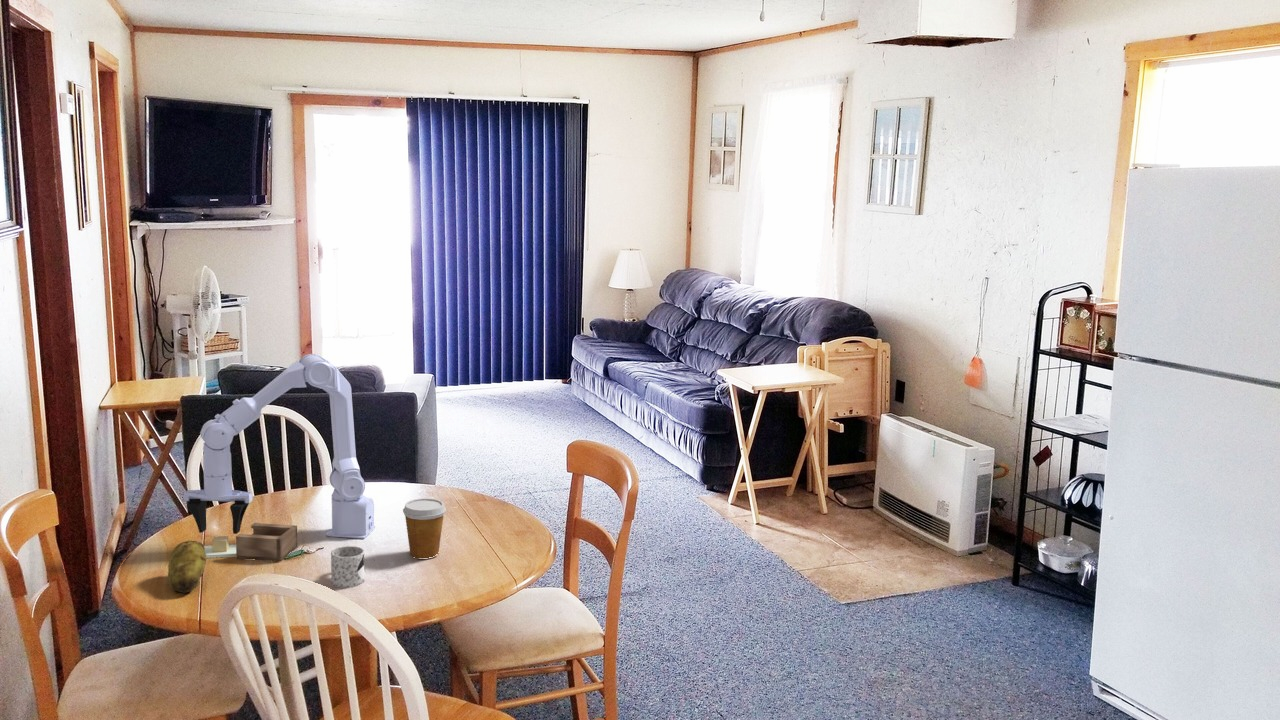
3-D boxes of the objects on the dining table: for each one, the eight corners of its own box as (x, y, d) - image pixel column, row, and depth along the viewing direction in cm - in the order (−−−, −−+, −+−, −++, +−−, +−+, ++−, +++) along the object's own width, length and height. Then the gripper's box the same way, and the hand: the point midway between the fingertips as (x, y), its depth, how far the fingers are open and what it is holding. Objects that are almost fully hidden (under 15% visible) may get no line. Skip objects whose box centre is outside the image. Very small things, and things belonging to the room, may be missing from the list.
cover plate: (241, 549, 220) (241, 533, 219) (237, 558, 214) (237, 542, 214) (203, 550, 218) (203, 534, 217) (198, 560, 212) (198, 544, 211)
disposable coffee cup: (430, 544, 226) (431, 495, 224) (453, 555, 220) (454, 505, 218) (394, 553, 220) (394, 503, 218) (417, 565, 213) (417, 513, 211)
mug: (365, 586, 201) (365, 555, 200) (332, 589, 199) (331, 558, 198) (361, 568, 210) (361, 539, 209) (329, 571, 208) (329, 542, 207)
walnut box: (297, 547, 221) (297, 525, 220) (280, 561, 212) (280, 539, 211) (255, 544, 222) (254, 522, 221) (236, 558, 213) (235, 536, 212)
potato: (152, 596, 192) (150, 558, 191) (179, 571, 205) (177, 535, 203) (194, 597, 192) (193, 559, 191) (219, 572, 205) (218, 536, 204)
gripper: (257, 469, 219) (258, 526, 221) (193, 467, 218) (195, 524, 221) (244, 478, 212) (246, 537, 214) (178, 476, 211) (181, 535, 214)
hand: (219, 531), depth 217 cm, fingers open, 7 cm apart
